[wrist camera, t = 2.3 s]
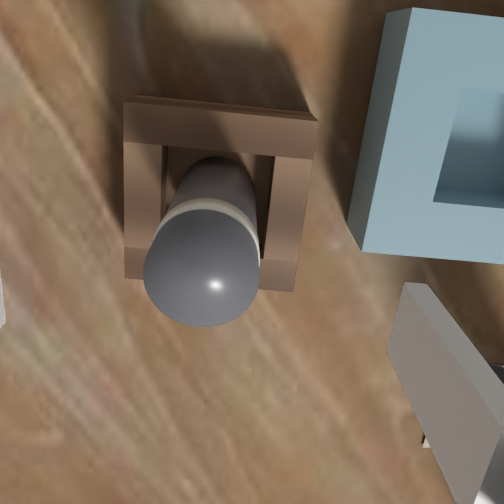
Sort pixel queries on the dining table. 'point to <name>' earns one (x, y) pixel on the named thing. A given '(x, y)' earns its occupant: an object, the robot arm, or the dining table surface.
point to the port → (434, 140)
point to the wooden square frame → (226, 145)
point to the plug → (206, 247)
